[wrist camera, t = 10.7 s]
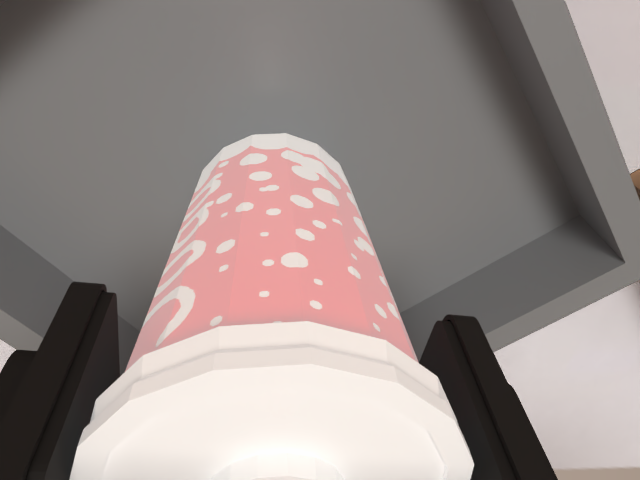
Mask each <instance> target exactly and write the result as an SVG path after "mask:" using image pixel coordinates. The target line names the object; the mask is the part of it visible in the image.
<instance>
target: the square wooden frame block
mask: <svg viewBox="0 0 640 480" xmlns="http://www.w3.org/2000/svg"><path fill="white" fill-rule="evenodd" d="M630 176H631V179H632V181H633V184H634V187H635V189H636V192H637V195H638V197H639V200H640V169H639V170H637V171H635V172H633V173H632V174H630Z"/></svg>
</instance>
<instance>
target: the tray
mask: <svg viewBox="0 0 640 480" xmlns="http://www.w3.org/2000/svg"><path fill="white" fill-rule="evenodd" d="M281 133H287V134H290V135H293V136H295V137H298V138H301V139H304V140H307V141H310V142H313V143H316V144H318V145H319V146H320V147H321V148H322V149H323V150H324V151H326V152H327V153H328V154H329V155H330V156H331V157H332V158H334V159H335V160H336V161H337V162H338V163H339V164H340V166H341V168H342V170H343V173H344V175H345V177H346V179H347V182H348V184H349V186H350V188H351V191H352V193H353V196H354V198H355V201H356V203H357V206H358V209H359V211H360V214H361V216H362V219H363V221H364V224H365V226H366V229H367V232H368V234H369V237H370V239H371V242H372V244H373V247H374V249H375V252H376V255H377V257H378V260H379V262H380V265H381V267H382V270H383V272H384V275H385V278H386V280H387V283H388V285H389V288H390V290H391V293H392V296H393V298H394V301H395V303H396V306H397V308H398V311H399V313H400V316H401V319H402V321H403V324H404V326H405V329H406V331H407V334H408V336H409V339H410V342H411V344H412V347H413V349H414V352H415V354H416V357H417V359H418V362H419V361H420V359H421V356H422V354H423V351H424V349H425V346H426V344H427V341H428V339H429V337H430V334H431V332H432V329H433V327H434V324H435V323H436V322H437V321H439V320H440V321H442V320H443V319H444V317H445V316H446V315H448V314H451V315H463V316H474V317H475V318H476V319H477V320H478V322H479V324H480V326H481V328H482V330H483V332H484V334H485V336H486V338H487V340H488V343H489V345H490V347H491V349H492V351H493V352H495V351H497V350H499V349H501V348H503V347H505V346H507V345H509V344H511V343H513V342H515V341H517V340H519V339H521V338H523V337H525V336H527V335H529V334H531V333H533V332H535V331H537V330H539V329H542V328H544V327H546V326H548V325H550V324H552V323H554V322H556V321H558V320H560V319H562V318H564V317H566V316H568V315H570V314H572V313H574V312H576V311H578V310H580V309H582V308H584V307H586V306H588V305H590V304H592V303H594V302H596V301H598V300H600V299H602V298H604V297H606V296H608V295H610V294H612V293H614V292H616V291H618V290H620V289H622V288H624V287H626V286H628V285H630V284H632V283H634V282H636V281H638V280H640V200H639V197H638V195H637V192H636V189H635V187H634V184H633V181H632V179H631V176H630V173H629V171H628V168H627V165H626V163H625V160H624V157H623V155H622V152H621V149H620V147H619V144H618V141H617V139H616V136H615V133H614V131H613V128H612V125H611V123H610V120H609V117H608V115H607V112H606V109H605V107H604V104H603V101H602V98H601V96H600V93H599V90H598V88H597V85H596V82H595V80H594V77H593V74H592V72H591V69H590V66H589V64H588V61H587V58H586V56H585V53H584V50H583V48H582V45H581V42H580V40H579V37H578V34H577V32H576V29H575V26H574V24H573V21H572V18H571V16H570V13H569V10H568V7H567V5H566V2H565V0H0V339H1V340H3V341H4V342H6V343H7V344H9V345H10V346H12V347H13V348H15V349H17V350H31V351H37V350H38V348H39V346H40V344H41V342H42V340H43V338H44V336H45V334H46V332H47V330H48V328H49V326H50V324H51V322H52V320H53V318H54V316H55V314H56V312H57V310H58V308H59V306H60V304H61V302H62V300H63V298H64V296H65V294H66V292H67V290H68V288H69V286H70V284H71V283H72V282H74V281H75V282H86V283H98V284H105V285H106V288H107V292H112V293H116V295H117V312H118V337H119V363H120V376H121V375H122V374H123V373H125V370H126V367H127V365H128V362H129V360H130V357H131V355H132V352H133V349H134V347H135V344H136V342H137V339H138V336H139V334H140V331H141V329H142V326H143V324H144V321H145V318H146V316H147V313H148V311H149V308H150V305H151V303H152V300H153V298H154V295H155V293H156V290H157V287H158V285H159V282H160V280H161V277H162V274H163V272H164V269H165V267H166V264H167V261H168V259H169V256H170V254H171V251H172V249H173V246H174V243H175V241H176V238H177V236H178V233H179V230H180V228H181V225H182V223H183V220H184V218H185V215H186V212H187V210H188V207H189V205H190V202H191V199H192V197H193V194H194V192H195V189H196V187H197V184H198V181H199V179H200V176H201V174H202V171H203V169H204V168H205V167H206V166H207V165H208V164H209V163H210V162H211V160H212V159H213V158H214V157H215V156H216V155H217V154H218V153H219V152H220V151H221V150H222V149H223V148H224V147H226V146H228V145H230V144H233V143H235V142H237V141H239V140H242V139H244V138H246V137H249V136H251V135H255V134H281Z"/></svg>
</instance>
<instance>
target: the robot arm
mask: <svg viewBox="0 0 640 480" xmlns="http://www.w3.org/2000/svg"><path fill="white" fill-rule="evenodd" d="M419 364H420V365H422V366H423V367H425V368H426V369H428V370H429V371H430V372H432V373H433V374H435V375H436V376H437V377H438V379H439V381H440V383H441V385H442V388H443V390H444V392H445V394H446V397H447V399H448V401H449V403H450V406H451V408H452V410H453V412H454V415H455V417H456V419H457V423H458V425H459V428H460V430H461V432H462V434H463V437H464V439H465V441H466V443H467V445H468V448H469V450H470V453H471V456H472V459H473V462H474V467H473V471H472V475H471V479H470V480H558V479H557V477H556V475H555V473H554V471H553V469H552V467H551V465H550V463H549V460H548V458H547V456H546V454H545V452H544V450H543V448H542V446H541V444H540V442H539V440H538V438H537V435H536V433H535V431H534V429H533V427H532V425H531V423H530V421H529V419H528V417H527V415H526V413H525V410H524V408H523V406H522V404H521V402H520V400H519V398H518V396H517V394H516V392H515V391H514V389H513V387H512V386H511V385H509V384H508V383H507V381H506V379H505V376H504V374H503V372H502V370H501V368H500V366H499V364H498V362H497V359H496V357H495V355H494V353H493V351H492V349H491V347H490V345H489V343H488V340H487V338H486V336H485V334H484V332H483V330H482V328H481V326H480V324H479V322H478V320H477V319H476V318H475V317H474V316H463V315H451V314H448V315H446V316H445V317H444V319H443V320H442V321H440V320H439V321H437V322H436V323H435V324H434V327H433V329H432V332H431V334H430V337H429V339H428V341H427V344H426V346H425V349H424V351H423V354H422V356H421V359H420V361H419ZM119 377H120V363H119V337H118V312H117V295H116V293H112V292H107V288H106V285H105V284H98V283H86V282H75V281H74V282H72V283H71V284H70V286H69V288H68V290H67V292H66V294H65V296H64V298H63V300H62V302H61V304H60V306H59V308H58V310H57V312H56V314H55V316H54V318H53V320H52V322H51V324H50V326H49V328H48V330H47V332H46V334H45V336H44V338H43V340H42V342H41V344H40V346H39V348H38V350H37V351H31V350H16V351H15V352H13V353H12V354H11V356H10V357H9V359H8V360H7V362H6V364H5V365H4V367H3V369H2V371H1V373H0V480H69V479H70V475H71V471H72V467H73V463H74V458H75V454H76V450H77V446H78V443H79V441H80V438H81V435H82V432H83V429H84V428H85V427H86V426H87V425H88V424H90V421H91V417H92V413H93V409H94V405H95V401H96V399H97V398H98V397H99V396H100V395H101V394H102V393H103V392H104V391H105V390H106V389H108V388H109V387H110V386H111V385H112V384H113V383H114V382H115V381H116V380H117V379H118V378H119Z"/></svg>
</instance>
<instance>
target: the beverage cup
mask: <svg viewBox="0 0 640 480" xmlns="http://www.w3.org/2000/svg"><path fill="white" fill-rule="evenodd" d="M473 467H474V462H473V459H472V456H471V453H470V450H469V448H468V445H467V443H466V441H465V439H464V437H463V434H462V432H461V430H460V428H459V425H458V423H457V419H456V417H455V415H454V412H453V410H452V408H451V406H450V403H449V401H448V399H447V397H446V394H445V392H444V390H443V388H442V385H441V383H440V381H439V379H438V377H437V376H436V375H435V374H433V373H432V372H430V371H429V370H428V369H426V368H425V367H423V366H422V365H420V364H419V362H418V359H417V357H416V354H415V352H414V349H413V347H412V344H411V342H410V339H409V336H408V334H407V331H406V329H405V326H404V324H403V321H402V319H401V316H400V313H399V311H398V308H397V306H396V303H395V301H394V298H393V296H392V293H391V290H390V288H389V285H388V283H387V280H386V278H385V275H384V272H383V270H382V267H381V265H380V262H379V260H378V257H377V255H376V252H375V249H374V247H373V244H372V242H371V239H370V237H369V234H368V232H367V229H366V226H365V224H364V221H363V219H362V216H361V214H360V211H359V209H358V206H357V203H356V201H355V198H354V196H353V193H352V191H351V188H350V186H349V184H348V182H347V179H346V177H345V175H344V173H343V170H342V168H341V166H340V164H339V163H338V162H337V161H336V160H335V159H334V158H332V157H331V156H330V155H329V154H328V153H327V152H326V151H324V150H323V149H322V148H321V147H320V146H319V145H318V144H316V143H313V142H310V141H307V140H304V139H301V138H298V137H295V136H293V135H290V134H287V133H281V134H255V135H251V136H249V137H246V138H244V139H242V140H239V141H237V142H235V143H233V144H230V145H228V146H226V147H224V148H223V149H222V150H221V151H220V152H219V153H218V154H217V155H216V156H215V157H214V158H213V159H212V160H211V162H210V163H209V164H208V165H207V166H206V167H205V168H204V169H203V171H202V174H201V176H200V179H199V181H198V184H197V187H196V189H195V192H194V194H193V197H192V199H191V202H190V205H189V207H188V210H187V212H186V215H185V218H184V220H183V223H182V225H181V228H180V230H179V233H178V236H177V238H176V241H175V243H174V246H173V249H172V251H171V254H170V256H169V259H168V261H167V264H166V267H165V269H164V272H163V274H162V277H161V280H160V282H159V285H158V287H157V290H156V293H155V295H154V298H153V300H152V303H151V305H150V308H149V311H148V313H147V316H146V318H145V321H144V324H143V326H142V329H141V331H140V334H139V336H138V339H137V342H136V344H135V347H134V349H133V352H132V355H131V357H130V360H129V362H128V365H127V367H126V370H125V373H123V374H122V375H121V376H120V377H119V378H118V379H117V380H116V381H115V382H114V383H113V384H112V385H111V386H110V387H109V388H108V389H106V390H105V391H104V392H103V393H102V394H101V395H100V396H99V397H98V398H97V399H96V401H95V405H94V409H93V413H92V417H91V421H90V424H88V425H87V426H86V427H85V428H84V429H83V432H82V435H81V438H80V441H79V443H78V446H77V450H76V454H75V458H74V463H73V467H72V471H71V475H70V479H69V480H470V479H471V475H472V471H473Z"/></svg>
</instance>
